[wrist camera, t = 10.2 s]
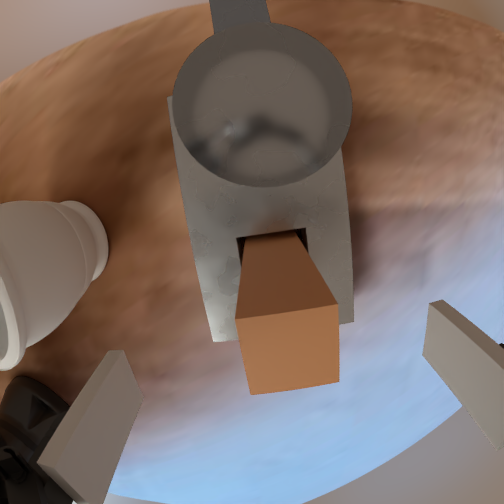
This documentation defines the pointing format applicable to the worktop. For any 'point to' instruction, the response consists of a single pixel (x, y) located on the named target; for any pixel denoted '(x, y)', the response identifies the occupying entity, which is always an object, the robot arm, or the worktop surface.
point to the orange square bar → (285, 316)
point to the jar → (44, 269)
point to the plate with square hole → (261, 152)
